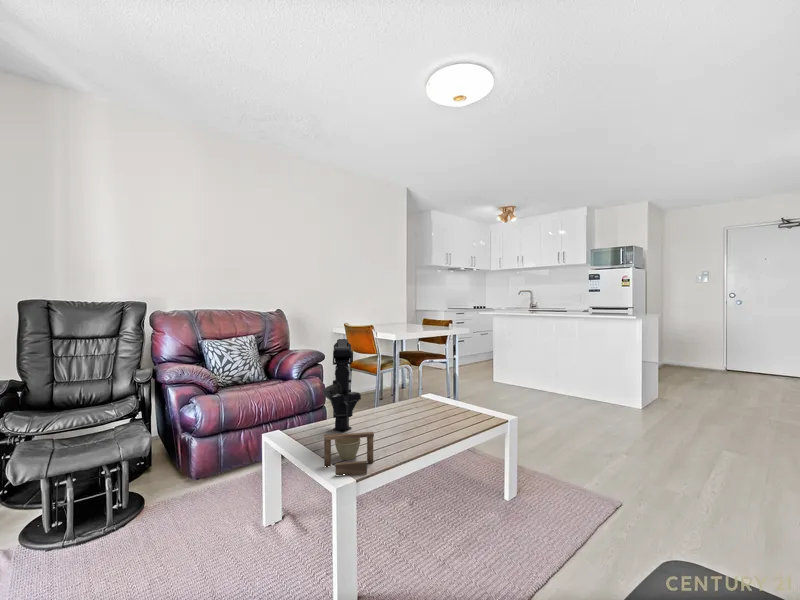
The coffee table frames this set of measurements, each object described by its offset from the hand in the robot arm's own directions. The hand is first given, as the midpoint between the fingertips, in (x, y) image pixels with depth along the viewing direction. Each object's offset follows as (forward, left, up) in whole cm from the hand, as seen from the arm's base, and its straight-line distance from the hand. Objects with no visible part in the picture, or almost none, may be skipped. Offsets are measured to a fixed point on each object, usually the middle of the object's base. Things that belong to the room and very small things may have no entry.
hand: (342, 415), depth 162 cm
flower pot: (+7, +9, -14) cm, 18 cm away
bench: (+14, +16, -13) cm, 25 cm away
